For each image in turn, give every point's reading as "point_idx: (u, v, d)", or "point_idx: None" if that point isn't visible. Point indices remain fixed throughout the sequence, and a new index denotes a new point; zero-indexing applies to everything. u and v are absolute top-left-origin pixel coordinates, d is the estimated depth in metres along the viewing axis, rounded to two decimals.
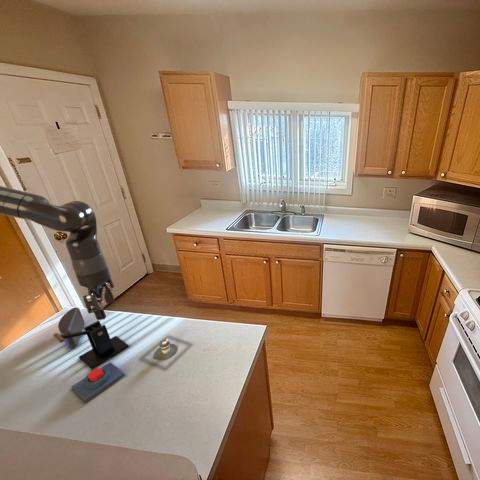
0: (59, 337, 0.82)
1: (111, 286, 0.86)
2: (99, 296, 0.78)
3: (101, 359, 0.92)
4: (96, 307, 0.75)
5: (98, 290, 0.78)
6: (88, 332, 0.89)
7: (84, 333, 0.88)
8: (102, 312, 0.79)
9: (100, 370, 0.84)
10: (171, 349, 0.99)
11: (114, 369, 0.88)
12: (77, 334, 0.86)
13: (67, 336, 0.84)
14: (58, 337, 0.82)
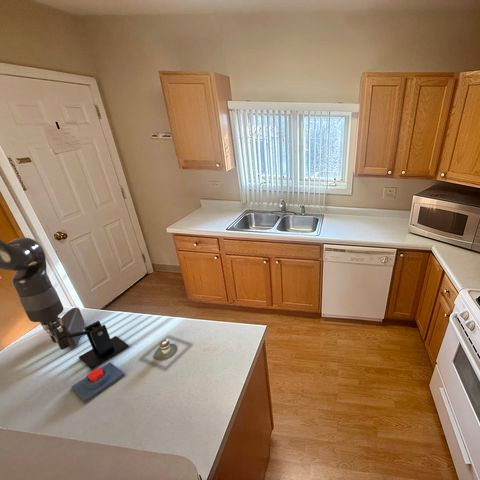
0: None
1: None
2: None
3: (101, 359, 0.92)
4: (67, 335, 0.79)
5: None
6: (88, 332, 0.89)
7: (84, 333, 0.88)
8: (66, 340, 0.82)
9: (100, 370, 0.84)
10: (171, 349, 0.99)
11: (114, 369, 0.88)
12: (77, 334, 0.86)
13: None
14: None
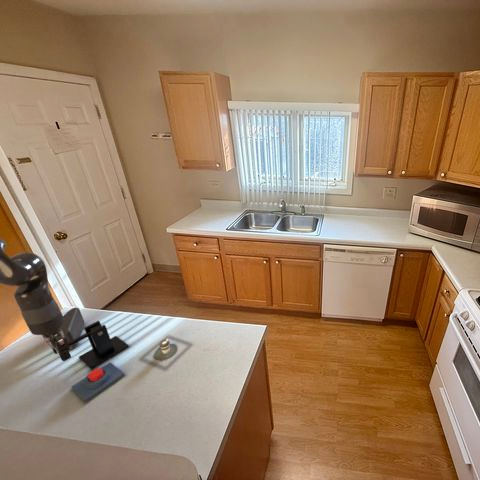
0: None
1: None
2: None
3: (101, 359, 0.92)
4: (68, 347, 0.80)
5: (59, 333, 0.80)
6: (88, 335, 0.89)
7: (84, 337, 0.88)
8: (68, 352, 0.83)
9: (100, 370, 0.84)
10: (171, 349, 0.99)
11: (114, 369, 0.88)
12: (77, 340, 0.87)
13: None
14: None
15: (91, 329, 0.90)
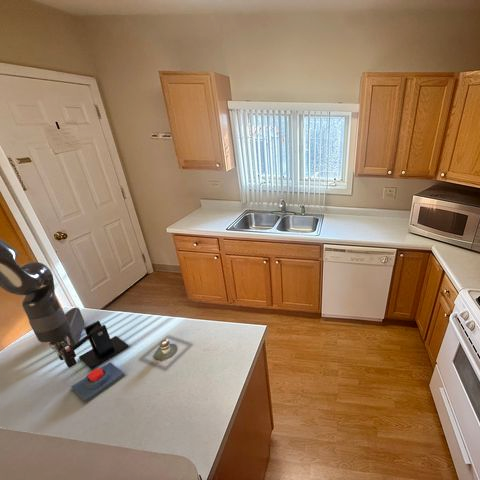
0: None
1: None
2: None
3: (101, 359, 0.92)
4: (74, 354, 0.82)
5: (65, 340, 0.82)
6: (89, 336, 0.89)
7: (86, 339, 0.89)
8: (73, 358, 0.85)
9: (100, 370, 0.84)
10: (171, 349, 0.99)
11: (114, 369, 0.88)
12: (79, 343, 0.87)
13: None
14: None
15: (90, 330, 0.90)
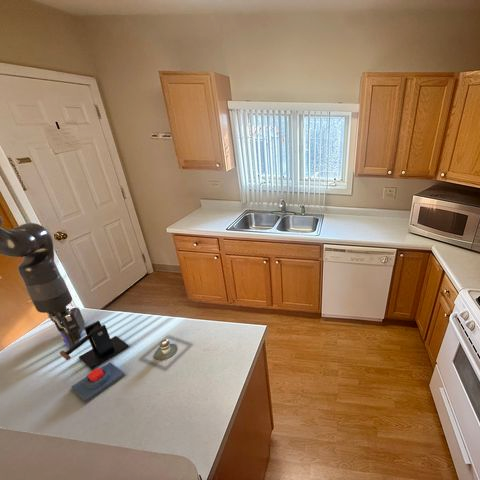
0: (64, 356, 0.84)
1: None
2: None
3: (101, 359, 0.92)
4: (77, 325, 0.75)
5: None
6: (89, 336, 0.90)
7: (86, 339, 0.89)
8: (77, 332, 0.77)
9: (100, 370, 0.84)
10: (171, 349, 0.99)
11: (114, 369, 0.88)
12: (79, 344, 0.88)
13: (71, 350, 0.86)
14: (63, 356, 0.84)
15: (90, 330, 0.90)
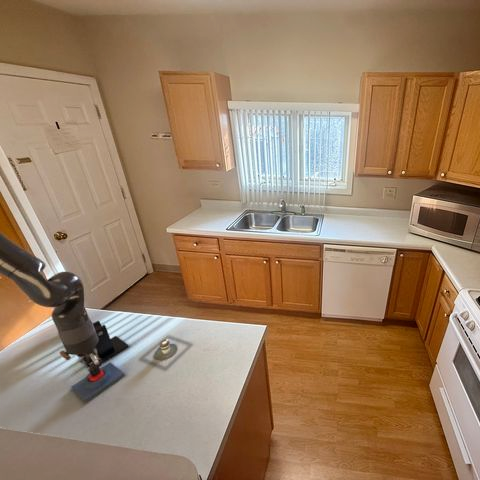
0: (64, 356, 0.84)
1: None
2: None
3: None
4: (100, 365, 0.81)
5: None
6: None
7: None
8: (98, 367, 0.83)
9: (101, 371, 0.85)
10: (171, 349, 0.99)
11: (114, 369, 0.88)
12: None
13: None
14: (63, 356, 0.84)
15: None
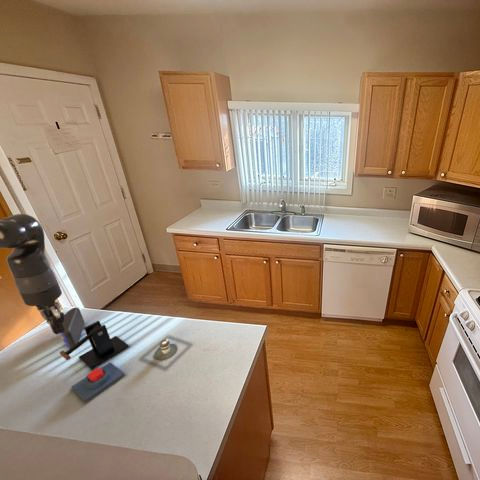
0: (64, 356, 0.84)
1: None
2: None
3: (101, 359, 0.92)
4: (62, 320, 0.75)
5: (56, 305, 0.74)
6: (89, 336, 0.90)
7: (86, 339, 0.89)
8: (61, 324, 0.78)
9: (100, 370, 0.84)
10: (171, 349, 0.99)
11: (114, 369, 0.88)
12: (79, 344, 0.88)
13: (71, 350, 0.86)
14: (63, 356, 0.84)
15: (90, 330, 0.90)
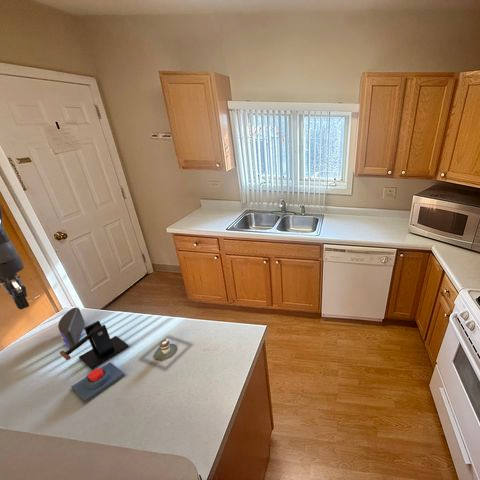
0: (64, 356, 0.84)
1: None
2: None
3: (101, 359, 0.92)
4: (25, 295, 0.75)
5: (17, 279, 0.73)
6: (89, 336, 0.90)
7: (86, 339, 0.89)
8: (25, 299, 0.77)
9: (100, 370, 0.84)
10: (171, 349, 0.99)
11: (114, 369, 0.88)
12: (79, 344, 0.88)
13: (71, 350, 0.86)
14: (63, 356, 0.84)
15: (90, 330, 0.90)
